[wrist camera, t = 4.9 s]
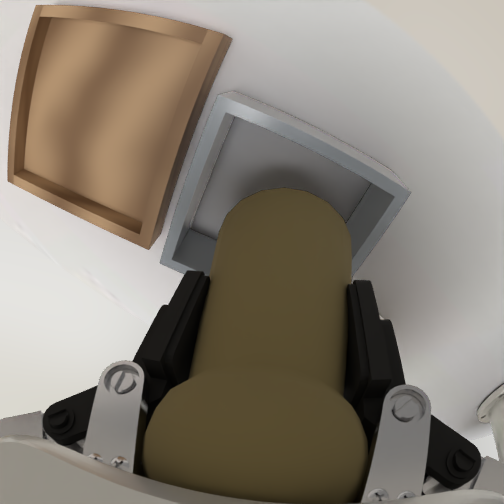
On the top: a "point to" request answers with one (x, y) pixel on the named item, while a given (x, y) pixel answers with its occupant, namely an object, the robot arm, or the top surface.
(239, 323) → the cork
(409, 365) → the top surface
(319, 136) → the grey square frame
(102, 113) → the tray
